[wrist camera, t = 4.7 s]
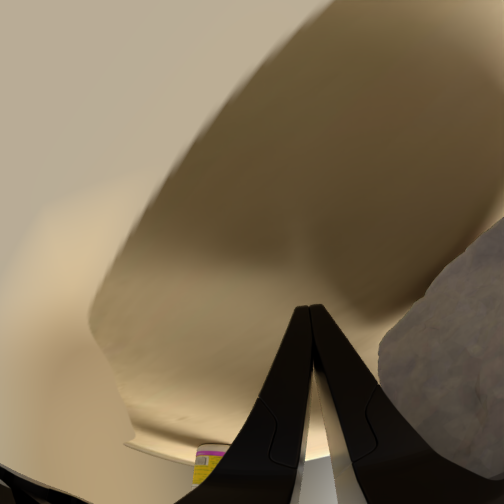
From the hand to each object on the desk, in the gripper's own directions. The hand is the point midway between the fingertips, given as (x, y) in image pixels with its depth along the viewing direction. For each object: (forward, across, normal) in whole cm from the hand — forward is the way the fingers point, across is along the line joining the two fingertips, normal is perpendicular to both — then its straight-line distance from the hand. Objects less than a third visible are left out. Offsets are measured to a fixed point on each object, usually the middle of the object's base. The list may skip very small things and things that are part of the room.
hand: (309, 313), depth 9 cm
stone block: (+2, -7, 0) cm, 7 cm away
